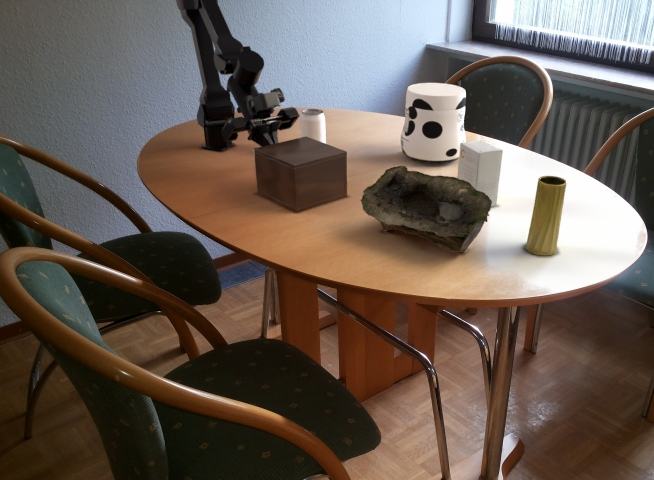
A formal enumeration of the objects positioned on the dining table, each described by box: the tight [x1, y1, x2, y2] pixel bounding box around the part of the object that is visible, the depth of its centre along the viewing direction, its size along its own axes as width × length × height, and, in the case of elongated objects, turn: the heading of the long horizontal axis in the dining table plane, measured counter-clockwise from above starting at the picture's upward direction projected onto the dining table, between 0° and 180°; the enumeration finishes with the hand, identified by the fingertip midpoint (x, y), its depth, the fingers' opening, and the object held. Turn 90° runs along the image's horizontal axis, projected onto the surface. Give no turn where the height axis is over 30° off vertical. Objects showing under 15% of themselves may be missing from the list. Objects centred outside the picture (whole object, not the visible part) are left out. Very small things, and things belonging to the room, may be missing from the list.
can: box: [299, 108, 327, 144], centre depth 168 cm, size 6×6×12 cm
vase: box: [525, 175, 568, 256], centre depth 124 cm, size 6×6×14 cm
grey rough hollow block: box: [360, 165, 492, 254], centre depth 127 cm, size 28×13×15 cm
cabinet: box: [253, 137, 348, 213], centre depth 145 cm, size 15×15×11 cm
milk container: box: [400, 82, 467, 164], centre depth 169 cm, size 17×17×18 cm
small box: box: [456, 139, 504, 207], centre depth 144 cm, size 8×6×13 cm
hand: (277, 155), depth 149 cm, fingers closed, pressing on drawer
